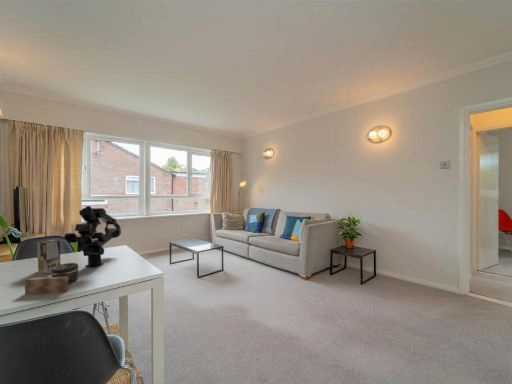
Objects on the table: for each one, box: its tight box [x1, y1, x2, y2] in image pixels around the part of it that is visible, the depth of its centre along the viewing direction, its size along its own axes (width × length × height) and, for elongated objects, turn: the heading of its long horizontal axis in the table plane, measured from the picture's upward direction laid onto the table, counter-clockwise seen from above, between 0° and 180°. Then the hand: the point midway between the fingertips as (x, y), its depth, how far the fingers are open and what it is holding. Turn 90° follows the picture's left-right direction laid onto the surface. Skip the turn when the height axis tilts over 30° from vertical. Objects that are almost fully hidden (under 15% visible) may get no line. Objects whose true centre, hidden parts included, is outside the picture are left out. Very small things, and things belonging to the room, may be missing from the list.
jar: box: [50, 262, 79, 285], centre depth 113 cm, size 10×10×8 cm
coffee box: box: [37, 239, 61, 274], centre depth 128 cm, size 9×6×16 cm
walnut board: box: [24, 276, 70, 295], centre depth 102 cm, size 16×2×6 cm, turn 95°
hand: (78, 251), depth 123 cm, fingers closed
